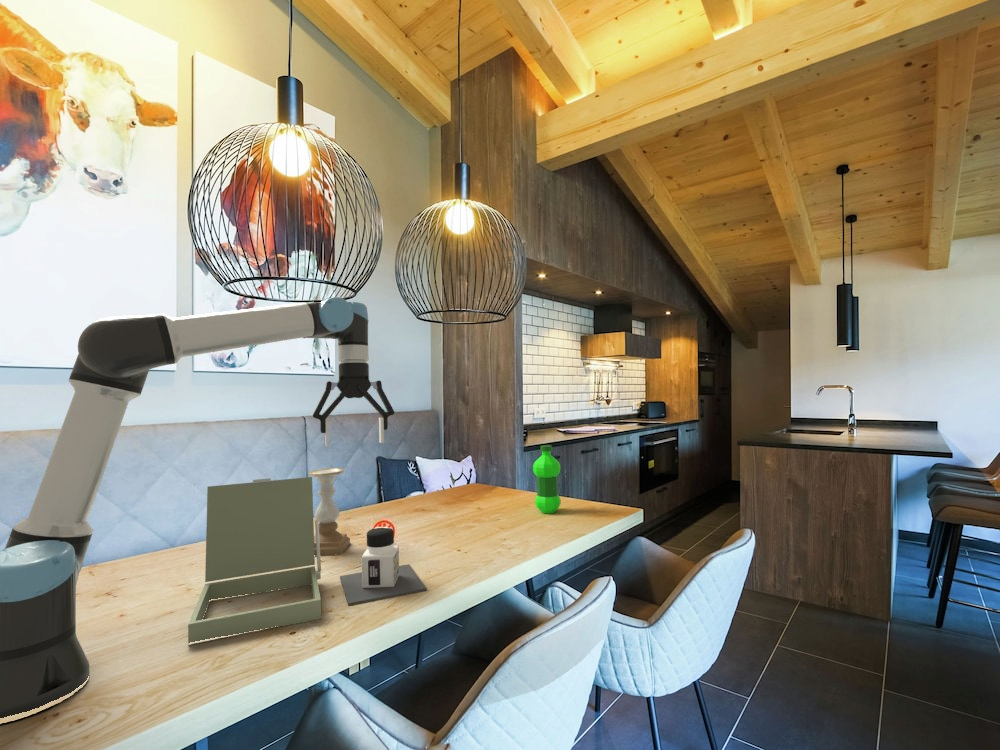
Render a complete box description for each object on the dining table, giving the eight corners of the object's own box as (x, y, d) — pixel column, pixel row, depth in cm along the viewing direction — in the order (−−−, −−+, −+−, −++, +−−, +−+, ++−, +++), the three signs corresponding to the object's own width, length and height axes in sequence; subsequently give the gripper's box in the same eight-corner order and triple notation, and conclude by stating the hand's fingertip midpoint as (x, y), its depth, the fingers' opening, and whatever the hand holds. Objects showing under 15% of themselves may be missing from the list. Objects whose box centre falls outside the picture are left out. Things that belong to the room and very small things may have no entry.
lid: (312, 474, 130) (311, 475, 132) (207, 483, 121) (208, 484, 122) (314, 564, 124) (314, 564, 126) (204, 582, 115) (205, 581, 116)
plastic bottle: (541, 516, 181) (539, 448, 182) (530, 510, 191) (528, 445, 192) (566, 513, 184) (564, 446, 185) (554, 507, 194) (552, 443, 195)
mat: (426, 590, 117) (426, 588, 117) (348, 605, 110) (348, 603, 110) (409, 566, 134) (409, 564, 134) (340, 577, 127) (339, 576, 127)
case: (327, 617, 105) (325, 546, 105) (188, 645, 95) (187, 566, 95) (319, 576, 128) (318, 518, 128) (207, 595, 118) (206, 532, 118)
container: (394, 587, 118) (392, 532, 119) (361, 588, 118) (360, 534, 118) (399, 575, 126) (398, 524, 126) (369, 576, 126) (368, 525, 126)
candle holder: (350, 543, 156) (349, 467, 156) (340, 554, 145) (339, 473, 145) (315, 544, 155) (314, 468, 156) (302, 556, 144) (301, 474, 145)
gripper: (398, 363, 137) (400, 439, 136) (301, 363, 127) (302, 446, 126) (404, 361, 130) (406, 442, 129) (302, 361, 120) (303, 449, 119)
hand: (355, 444), depth 128 cm, fingers open, 13 cm apart
